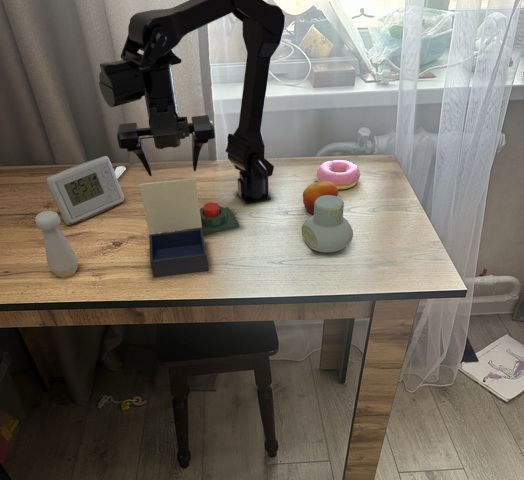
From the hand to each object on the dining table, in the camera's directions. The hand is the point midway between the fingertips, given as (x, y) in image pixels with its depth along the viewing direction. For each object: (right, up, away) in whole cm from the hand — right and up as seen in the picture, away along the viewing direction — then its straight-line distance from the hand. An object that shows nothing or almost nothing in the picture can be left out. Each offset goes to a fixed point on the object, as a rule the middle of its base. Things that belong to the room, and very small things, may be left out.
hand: (172, 172), depth 106 cm
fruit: (+32, -4, +12) cm, 35 cm away
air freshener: (+32, -15, +2) cm, 36 cm away
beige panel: (+1, -8, -4) cm, 10 cm away
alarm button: (+7, -7, +7) cm, 12 cm away
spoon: (-20, +6, +25) cm, 32 cm away
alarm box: (+8, -8, +9) cm, 14 cm away
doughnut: (+38, +5, +22) cm, 44 cm away
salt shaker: (-21, -21, -3) cm, 30 cm away
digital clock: (-22, -4, +14) cm, 26 cm away
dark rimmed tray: (+2, -19, -1) cm, 19 cm away
